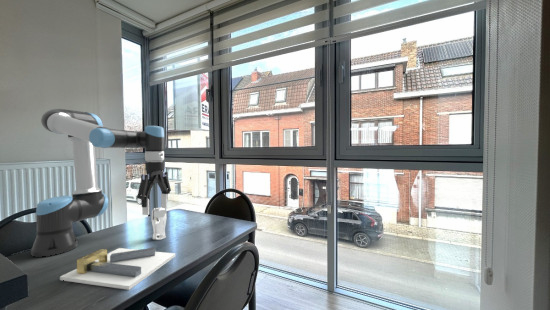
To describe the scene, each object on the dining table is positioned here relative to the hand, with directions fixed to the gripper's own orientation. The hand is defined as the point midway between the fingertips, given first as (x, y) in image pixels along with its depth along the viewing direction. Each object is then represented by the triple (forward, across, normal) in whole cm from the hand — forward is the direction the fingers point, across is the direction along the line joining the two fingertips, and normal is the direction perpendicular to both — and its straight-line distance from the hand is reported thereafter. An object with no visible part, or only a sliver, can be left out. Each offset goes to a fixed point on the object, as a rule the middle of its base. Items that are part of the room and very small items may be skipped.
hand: (155, 211), depth 101 cm
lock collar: (+17, -19, +12) cm, 28 cm away
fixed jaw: (+17, -20, +3) cm, 26 cm away
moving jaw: (+17, -9, +3) cm, 19 cm away
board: (+18, -14, +3) cm, 23 cm away
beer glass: (+18, +15, +10) cm, 26 cm away
